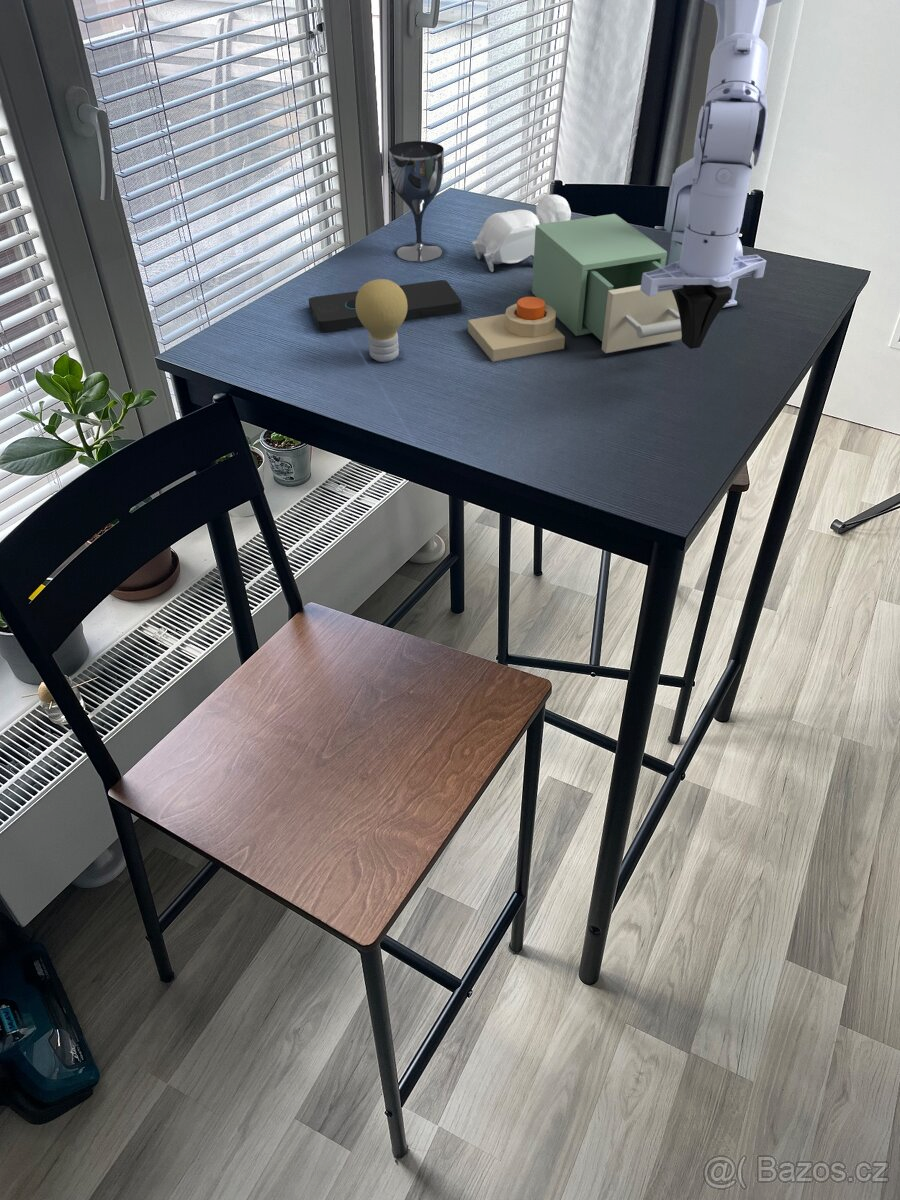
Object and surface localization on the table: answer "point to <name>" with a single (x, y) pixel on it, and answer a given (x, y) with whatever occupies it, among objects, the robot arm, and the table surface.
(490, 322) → the control block
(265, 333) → the table surface
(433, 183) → the wine glass
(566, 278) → the green drawer cabinet
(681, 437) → the table surface
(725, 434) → the table surface
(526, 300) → the button
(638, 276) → the cream pull-out drawer
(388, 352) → the light bulb
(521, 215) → the white pig figurine
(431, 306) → the smart home device
